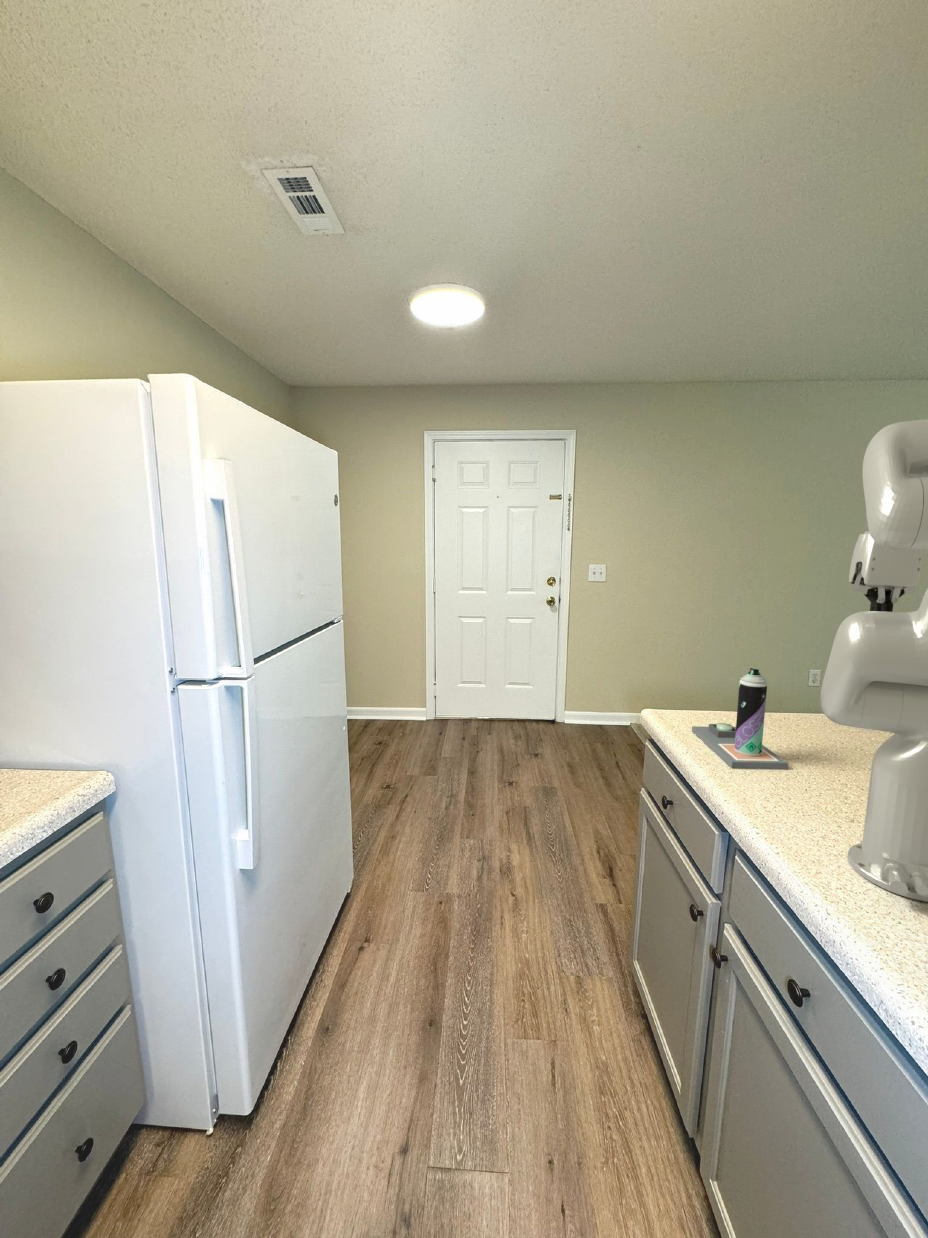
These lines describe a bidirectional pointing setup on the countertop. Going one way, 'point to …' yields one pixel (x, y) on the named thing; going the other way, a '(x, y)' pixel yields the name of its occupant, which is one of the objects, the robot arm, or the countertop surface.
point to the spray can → (750, 714)
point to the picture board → (725, 750)
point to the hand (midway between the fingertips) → (879, 623)
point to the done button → (724, 727)
